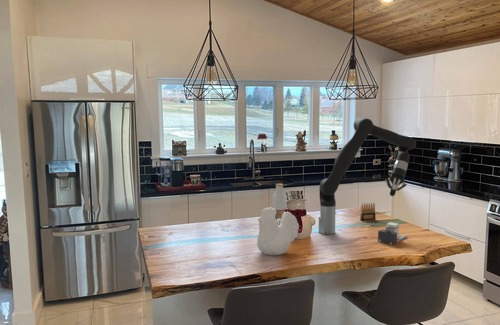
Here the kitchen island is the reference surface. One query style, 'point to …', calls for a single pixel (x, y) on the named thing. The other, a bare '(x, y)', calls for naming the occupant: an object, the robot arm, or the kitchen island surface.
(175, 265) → the kitchen island surface
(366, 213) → the ammunition clip
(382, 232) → the grey boxy device
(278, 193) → the white bottle
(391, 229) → the grooved white block
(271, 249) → the decorative rooster
